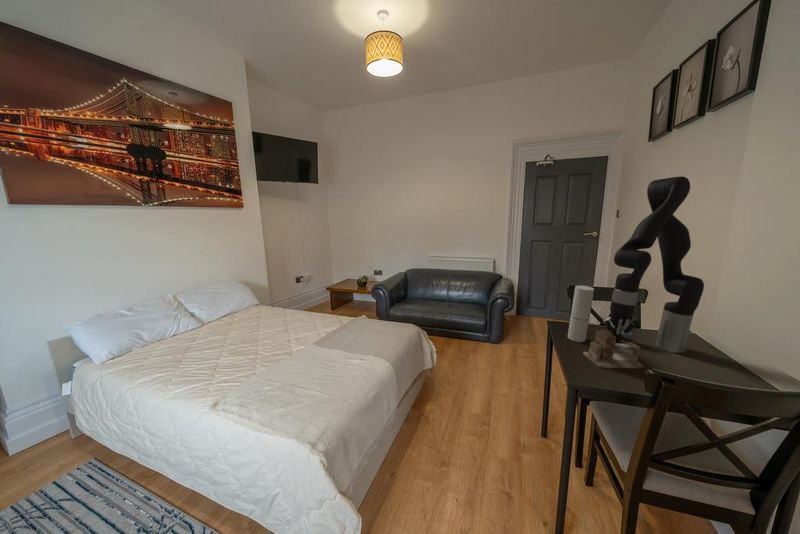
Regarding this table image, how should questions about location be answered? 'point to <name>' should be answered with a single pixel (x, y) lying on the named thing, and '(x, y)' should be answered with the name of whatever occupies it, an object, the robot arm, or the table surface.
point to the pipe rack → (615, 356)
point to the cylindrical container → (580, 313)
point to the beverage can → (627, 336)
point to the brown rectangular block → (606, 343)
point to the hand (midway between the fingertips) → (615, 341)
